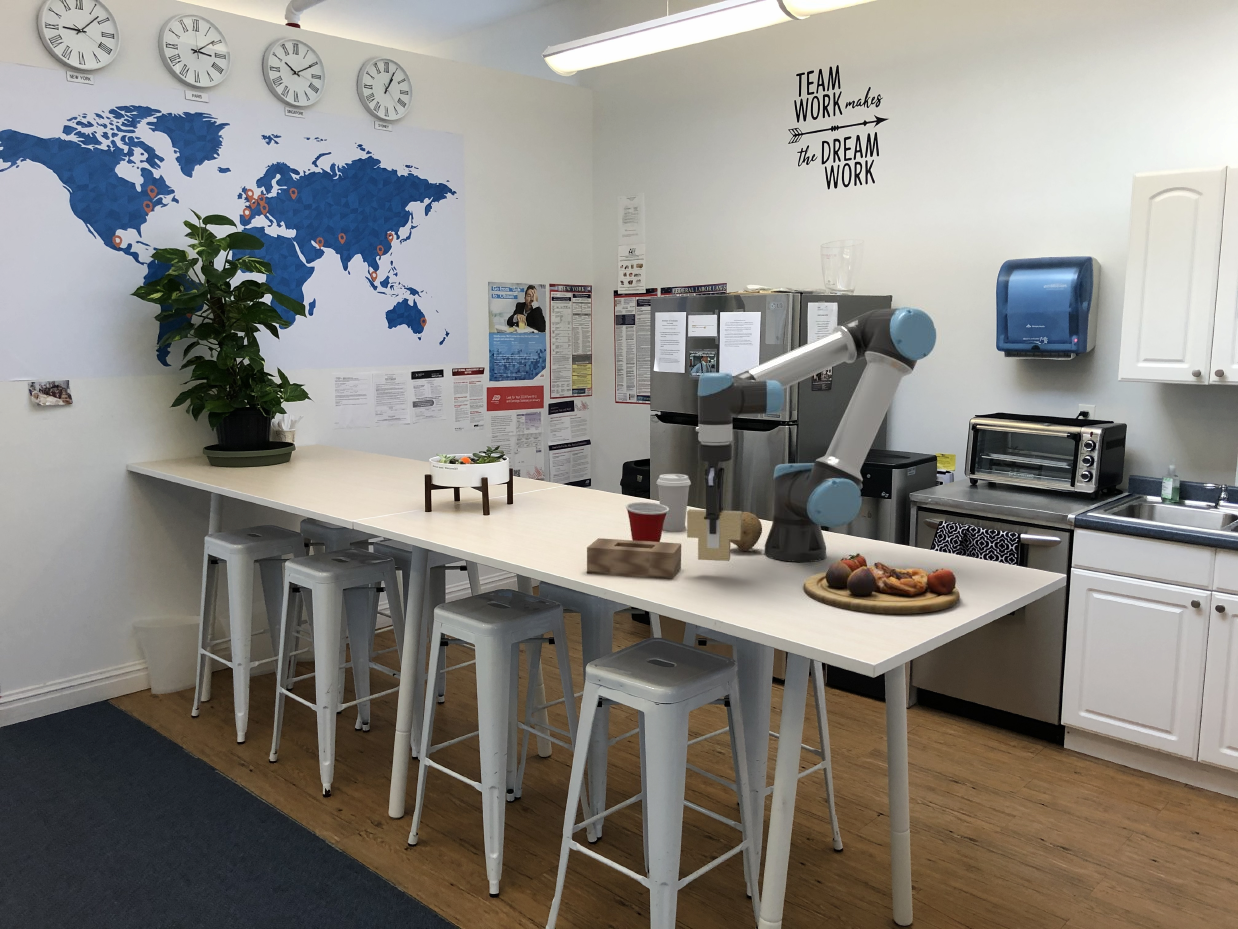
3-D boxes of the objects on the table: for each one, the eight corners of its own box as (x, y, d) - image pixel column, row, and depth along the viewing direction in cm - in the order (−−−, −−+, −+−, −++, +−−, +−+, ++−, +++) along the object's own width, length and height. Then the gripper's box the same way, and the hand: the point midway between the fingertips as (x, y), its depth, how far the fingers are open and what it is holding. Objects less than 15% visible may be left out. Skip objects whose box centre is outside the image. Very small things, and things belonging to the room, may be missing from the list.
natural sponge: (746, 556, 236) (747, 517, 235) (718, 550, 242) (718, 512, 241) (768, 551, 242) (769, 512, 241) (739, 545, 249) (740, 507, 247)
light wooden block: (741, 559, 217) (741, 511, 215) (740, 561, 214) (740, 513, 213) (688, 556, 219) (689, 509, 218) (687, 559, 217) (687, 511, 215)
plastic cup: (644, 560, 231) (645, 511, 230) (616, 552, 240) (616, 505, 238) (677, 554, 238) (678, 506, 237) (648, 546, 247) (649, 500, 245)
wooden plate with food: (984, 595, 205) (986, 557, 204) (916, 626, 182) (918, 583, 181) (850, 571, 227) (851, 537, 226) (774, 597, 204) (775, 558, 203)
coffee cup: (687, 533, 262) (688, 479, 260) (653, 531, 264) (653, 478, 262) (692, 526, 271) (693, 474, 269) (658, 524, 273) (659, 472, 271)
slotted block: (680, 568, 224) (681, 543, 223) (673, 579, 214) (673, 553, 213) (598, 562, 229) (598, 538, 228) (586, 573, 219) (586, 547, 218)
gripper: (703, 438, 221) (703, 537, 225) (692, 446, 206) (692, 553, 210) (736, 438, 219) (735, 539, 223) (727, 447, 205) (726, 554, 208)
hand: (714, 545), depth 216 cm, fingers closed on light wooden block, 2 cm apart
